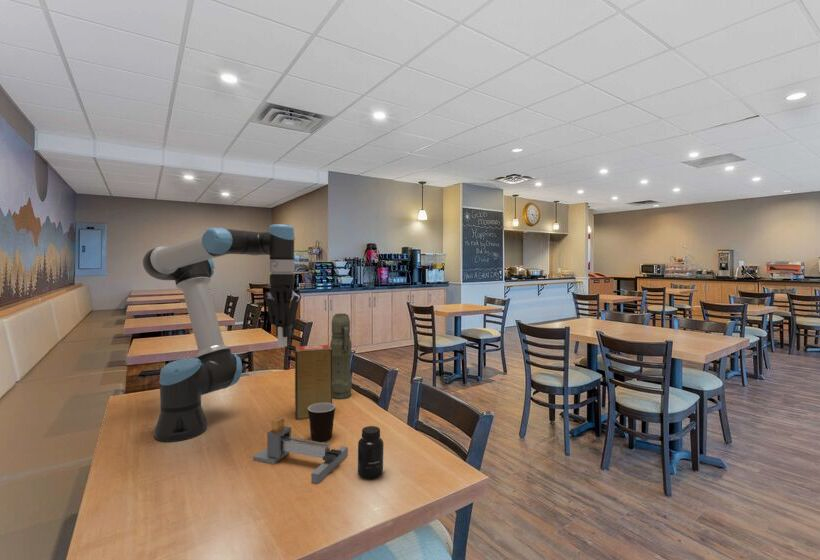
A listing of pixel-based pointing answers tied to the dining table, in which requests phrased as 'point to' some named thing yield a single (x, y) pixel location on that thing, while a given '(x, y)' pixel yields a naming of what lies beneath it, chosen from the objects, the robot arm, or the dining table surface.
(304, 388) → the food packaging
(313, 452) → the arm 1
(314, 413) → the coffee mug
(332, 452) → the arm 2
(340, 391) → the thermos
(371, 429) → the supplement bottle
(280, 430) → the collar
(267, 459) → the stand
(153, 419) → the dining table surface
